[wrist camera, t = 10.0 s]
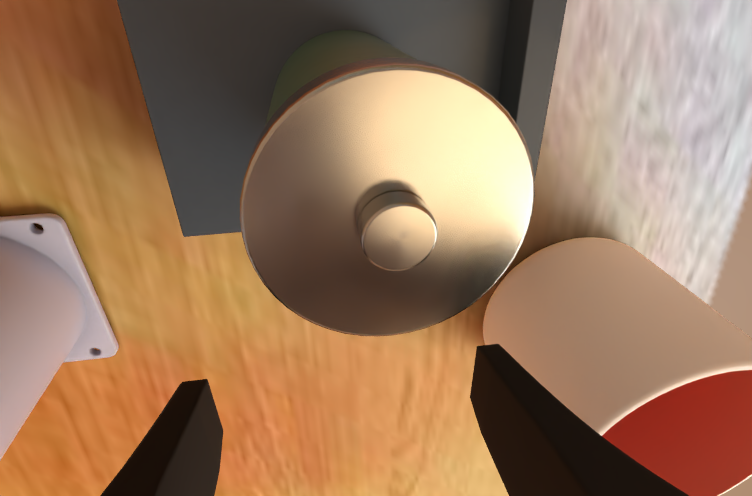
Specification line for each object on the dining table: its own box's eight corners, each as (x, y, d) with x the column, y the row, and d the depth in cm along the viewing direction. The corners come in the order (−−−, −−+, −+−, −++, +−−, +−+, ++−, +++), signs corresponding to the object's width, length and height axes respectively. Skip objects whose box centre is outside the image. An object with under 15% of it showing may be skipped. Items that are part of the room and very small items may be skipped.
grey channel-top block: (206, 188, 19) (172, 260, 14) (155, -29, 15) (80, -40, 10) (469, 168, 20) (526, 227, 15) (489, -33, 16) (575, -46, 11)
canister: (280, 186, 15) (262, 372, 7) (258, 28, 12) (199, 78, 5) (418, 175, 15) (525, 339, 8) (423, 23, 13) (584, 61, 6)
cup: (591, 191, 22) (774, 315, 14) (662, 295, 27) (832, 436, 18) (441, 309, 25) (517, 477, 16) (530, 385, 29) (625, 547, 21)
